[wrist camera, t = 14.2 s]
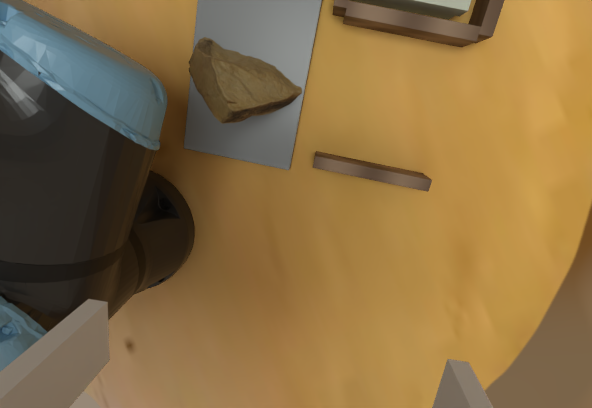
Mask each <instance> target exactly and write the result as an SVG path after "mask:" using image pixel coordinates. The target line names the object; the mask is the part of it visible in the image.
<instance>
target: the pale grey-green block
mask: <svg viewBox="0 0 592 408" xmlns="http://www.w3.org/2000/svg"><path fill="white" fill-rule="evenodd" d="M350 1H355V2H361V3H366V4H371V5H376V6H381V7H386V8H391V9H396V10H402V11H407V12H412V13H417V14H422V15H427V16H432V17H437V18H442V19H448V20H449V19H451V18H452V17H454V16H461V15H462V14H464V13H465V12H467V11H468V9H469V6H470V3H471V0H350Z"/></svg>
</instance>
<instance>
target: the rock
mask: <svg viewBox="0 0 592 408" xmlns="http://www.w3.org/2000/svg"><path fill="white" fill-rule="evenodd" d="M189 64H190V68H189V72H190V75H191V76H192V78H193V82H194V84H195V87H196V89H197V91H198V92H199V93H200V94H201V95H202V97H203V99H204V101H205V102H206V104H207V106H208V108H209V109H210V111H211V112H212V114H213V116H214V117H215V118H216V119H217V120H218V121H220V123H222V124H225V123H236V122H241V121H243V120H245V119H247V118H249V117H251V116H258V115H265V114H269V113H272V112H274V111H277V110H279V109H281V108H283V107H285V106H287V105H289V104H290V103H292V102H293V101H294V100H295V99H296V98H297V97H298V96H299V95H300V94H301V93H302V88H301V87H299V86H296V85H294V84H293V83H292V82H291V81H290V80H289V79H288V78H286V77H285V76H284V75H283V74H282V73H281V72H280V71H279V70H277V69H276V67H275V66H273V65H270V64H268V63H266V62H264V61H262V60H260V59H258V58H253V57H251V56H245V55H242V54H240V53H239V52H236V51H232V50H227V49H223V48H222V47H221V46H220V45H218V44H217V43H216V42H215V41H213V40H212V39H210V38H206V37H204V38H202V39H199V41H198V43H197V44H196V46H195V48H194V52H193V54H192V56H191V59H190V61H189Z"/></svg>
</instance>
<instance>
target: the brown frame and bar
mask: <svg viewBox="0 0 592 408" xmlns="http://www.w3.org/2000/svg"><path fill="white" fill-rule="evenodd" d="M503 3H504V0H476V3H475V6H474V9H473V13H472V16H471V19H470V22H469V24H464V23H459V22H454V21H449V20H444V19H439V18H434V17H429V16H424V15H419V14H414V13H409V12H404V11H398V10H393V9H388V8H383V7H378V6H373V5H368V4H363V3H358V2H353V1H348V0H335V1H334V6H333V15H336V16H341V17H344V22H343V24H347V25H352V26H357V27H362V28H367V29H372V30H377V31H382V32H387V33H392V34H397V35H402V36H407V37H412V38H417V39H422V40H427V41H433V42H438V43H443V44H448V45H453V46H458V47H464V46H466V45H469V44H471V43H478V42H480V41H483V40H485V39H488V38H490V37H492V36H493V33H494V30H495V27H496V24H497V21H498V18H499V15H500V12H501V9H502V6H503ZM313 168H317V169H322V170H327V171H332V172H337V173H342V174H346V175H351V176H356V177H361V178H366V179H370V180H375V181H380V182H385V183H390V184H394V185H399V186H404V187H409V188H414V189H418V190H423V191H429V188H430V185H431V182H432V180H431V179H430V178H428V177H427V176H425V175H424V174H423V173H418V172H414V171H409V170H404V169H399V168H394V167H389V166H385V165H380V164H375V163H370V162H365V161H360V160H356V159H351V158H346V157H341V156H336V155H331V154H327V153H322V152H317V151H316V154H315V159H314V164H313Z"/></svg>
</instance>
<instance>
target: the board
mask: <svg viewBox="0 0 592 408" xmlns="http://www.w3.org/2000/svg"><path fill="white" fill-rule="evenodd" d="M321 4H322V0H198V5H197V15H196V26H195V36H194V46H193V52H194V48H195V46H196V44H197V43H198V41H199V39H202V38H204V37H206V38H210V39H212V40H213V41H215V42H216V43H217V44H218V45H220V46H221V47H222V48H223V49H227V50H232V51H236V52H239V53H240V54H242V55H245V56H251V57H253V58H258V59H260V60H262V61H264V62H266V63H268V64H270V65H273V66H275V67H276V69H277V70H279V71H280V72H281V73H282V74H283V75H284V76H285V77H286V78H288V79H289V80H290V81H291V82H292V83H293V84H294V85H296V86H299V87H301V88H302V93H301V94H300V95H299V96H298V97H297V98H296V99H295V100H294V101H293V102H292V103H290V104H289V105H287V106H285V107H283V108H281V109H279V110H277V111H274V112H272V113H269V114H265V115H258V116H251V117H249V118H247V119H245V120H243V121H241V122H236V123H225V124H222V123H220V121H218V120H217V119H216V118H215V117H214V116H213V114H212V112H211V111H210V109H209V108H208V106H207V104H206V102H205V101H204V99H203V97H202V95H201V94H200V93H199V92H198V91H197V89H196V87H195V84H194V82H193V78H192V76H191V78H190V88H189V99H188V109H187V119H186V130H185V140H184V148H185V149H190V150H195V151H200V152H204V153H209V154H214V155H219V156H224V157H228V158H233V159H238V160H243V161H248V162H252V163H257V164H262V165H267V166H272V167H276V168H281V169H286V170H289V169H290V166H291V160H292V155H293V150H294V145H295V139H296V134H297V129H298V124H299V119H300V113H301V108H302V103H303V98H304V93H305V87H306V82H307V77H308V72H309V67H310V61H311V56H312V51H313V46H314V40H315V35H316V30H317V25H318V20H319V14H320V9H321Z"/></svg>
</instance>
